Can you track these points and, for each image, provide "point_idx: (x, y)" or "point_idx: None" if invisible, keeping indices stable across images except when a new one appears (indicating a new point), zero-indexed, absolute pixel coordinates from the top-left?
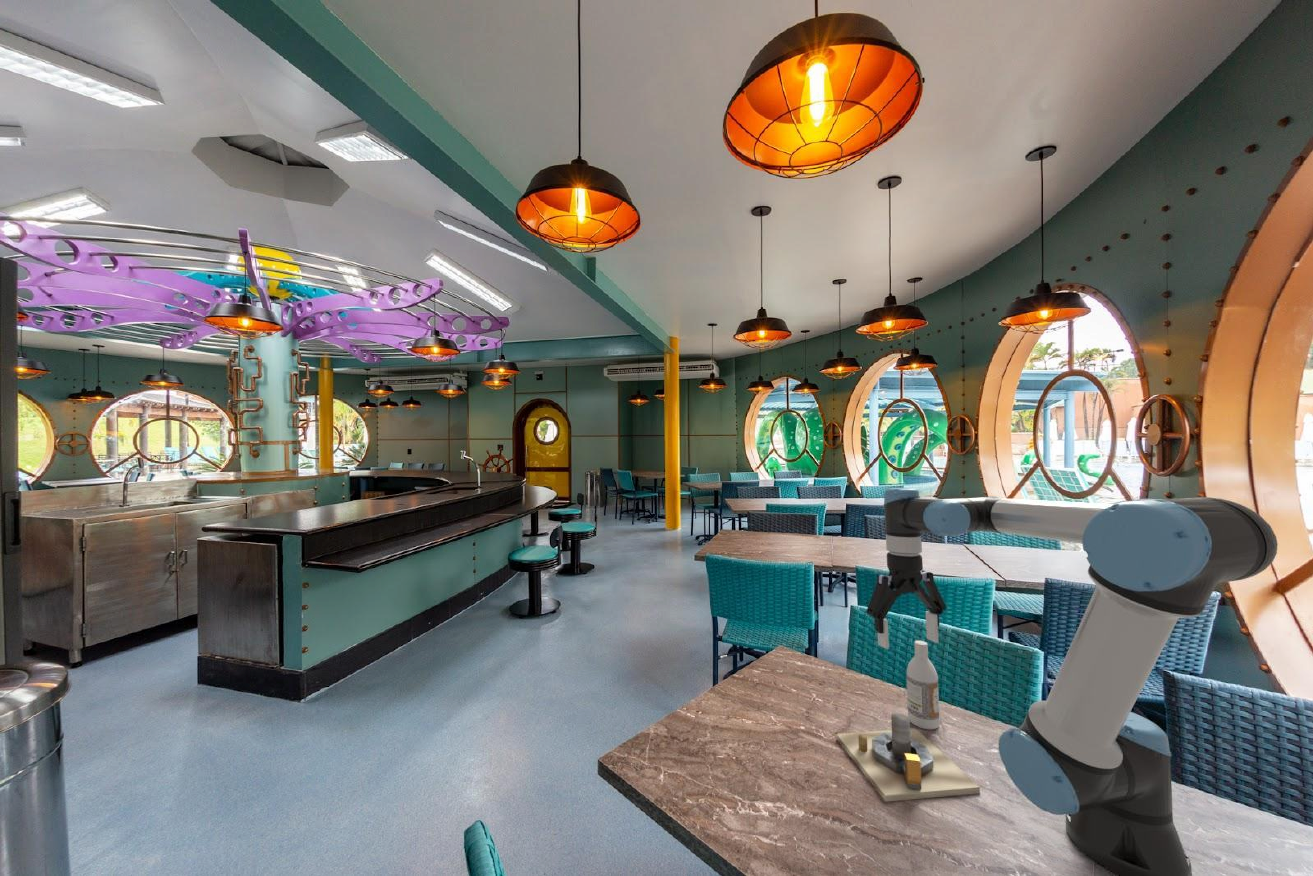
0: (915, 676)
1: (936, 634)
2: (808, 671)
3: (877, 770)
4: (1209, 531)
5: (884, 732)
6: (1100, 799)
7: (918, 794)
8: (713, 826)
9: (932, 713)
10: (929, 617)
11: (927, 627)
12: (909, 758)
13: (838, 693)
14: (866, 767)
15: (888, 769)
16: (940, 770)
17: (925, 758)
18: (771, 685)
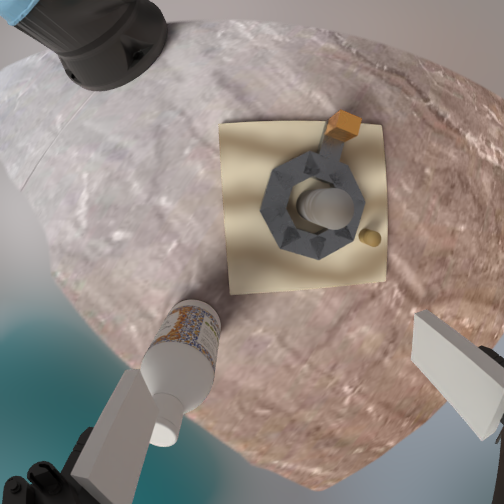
0: (204, 363)
1: (120, 394)
2: (315, 455)
3: (368, 178)
4: None
5: (299, 284)
6: None
7: None
8: None
9: (185, 310)
10: (119, 480)
11: (143, 445)
12: (357, 119)
13: (303, 407)
14: (381, 188)
15: None
16: (259, 166)
17: (284, 175)
18: (394, 414)
